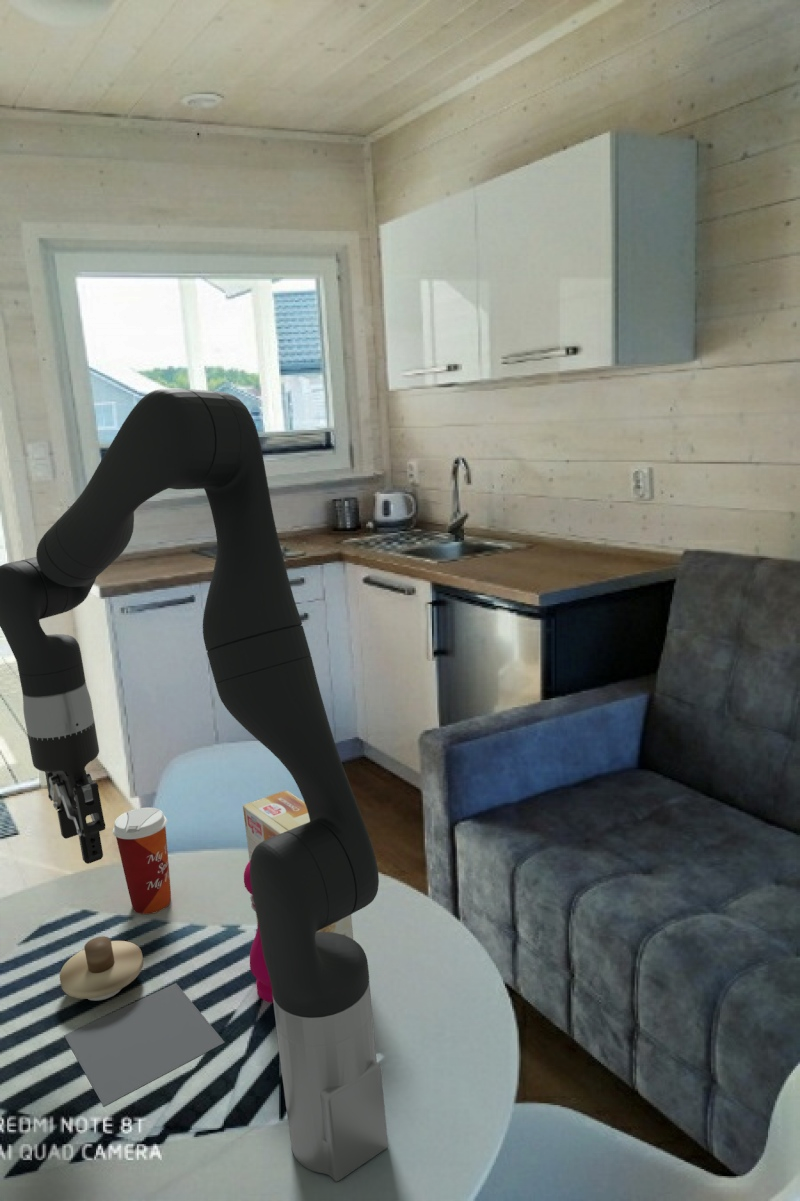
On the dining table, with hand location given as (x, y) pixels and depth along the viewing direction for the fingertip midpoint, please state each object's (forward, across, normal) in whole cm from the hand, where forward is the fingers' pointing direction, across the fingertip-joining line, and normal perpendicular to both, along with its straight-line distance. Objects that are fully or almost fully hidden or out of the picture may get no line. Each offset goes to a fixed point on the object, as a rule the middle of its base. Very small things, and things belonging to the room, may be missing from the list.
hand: (82, 847), depth 108 cm
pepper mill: (+20, -16, -17) cm, 31 cm away
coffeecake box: (+20, -10, -23) cm, 33 cm away
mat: (+20, -13, 0) cm, 24 cm away
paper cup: (+20, +15, -12) cm, 28 cm away
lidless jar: (+20, 0, 0) cm, 20 cm away
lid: (+17, 0, 0) cm, 17 cm away
